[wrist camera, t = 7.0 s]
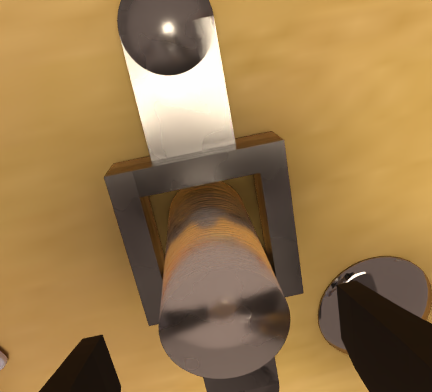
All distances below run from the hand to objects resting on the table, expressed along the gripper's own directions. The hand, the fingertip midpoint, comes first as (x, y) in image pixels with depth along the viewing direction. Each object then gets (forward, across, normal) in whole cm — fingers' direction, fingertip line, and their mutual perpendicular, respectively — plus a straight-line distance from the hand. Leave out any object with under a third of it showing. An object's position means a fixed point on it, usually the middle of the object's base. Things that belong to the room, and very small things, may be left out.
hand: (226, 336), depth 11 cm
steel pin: (+9, 0, 0) cm, 9 cm away
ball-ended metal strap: (+9, 0, 0) cm, 9 cm away
